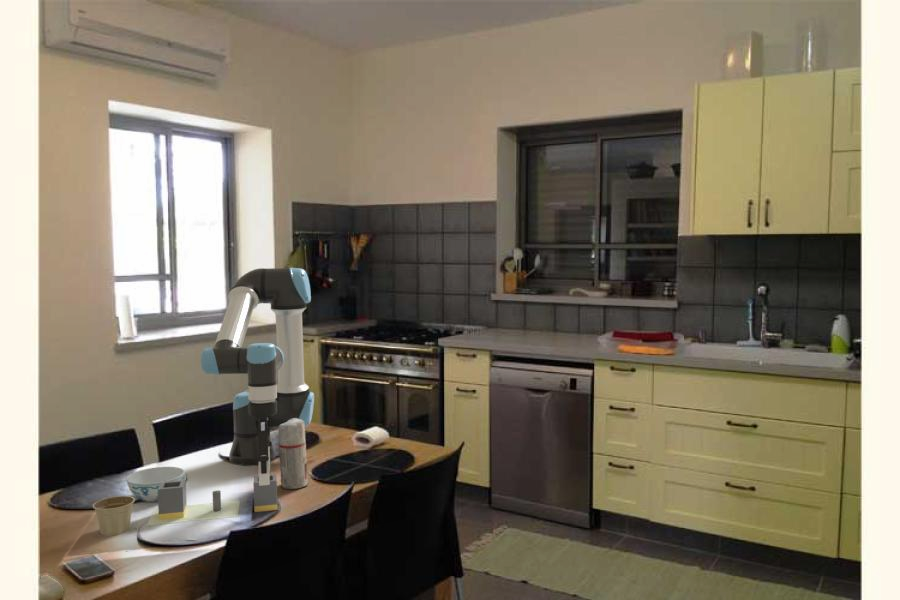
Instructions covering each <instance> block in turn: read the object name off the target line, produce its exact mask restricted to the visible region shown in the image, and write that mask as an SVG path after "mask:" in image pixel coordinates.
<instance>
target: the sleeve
mask: <svg viewBox="0 0 900 600" xmlns="http://www.w3.org/2000/svg"><path fill="white" fill-rule="evenodd" d="M269 477H270V485H262V486H259V475H254V476H253V510H254V513H258V512H259V513H260V512H270V511H277V510H278V485H277V484H278V483H277V482H278V481H277V479H278V478H277V474H276V473H275V474H274V473H273V474H269Z"/></svg>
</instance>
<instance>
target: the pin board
mask: <svg viewBox="0 0 900 600" xmlns="http://www.w3.org/2000/svg"><path fill="white" fill-rule="evenodd" d="M221 495H222V493H221V490H213V491H212V502H210V503H207V502H206V503H199V504H197V503H196V504H189V505H188V504H186V505H187V510H186V513H185V515H184V518H174V519H164V520H159V509H158V508H157V507H156V508H153V511H152V513H151V515H150V517H149V519H148V521H147V524H146V526H147V527H148V526H156V525H164V524H165V525H166V524H175V523H176V524H177V523H187V522H195V521H197V522H198V521H205V520H206V521H207V520H215V519H217V520H218V519H226V518H236V517H237V518H238V515H239V509H240V503H241V500H229V501H222V499H221Z"/></svg>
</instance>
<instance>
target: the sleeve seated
mask: <svg viewBox="0 0 900 600" xmlns="http://www.w3.org/2000/svg"><path fill="white" fill-rule="evenodd" d="M157 505H158V509H159V520H164V519H174V518H184V515H185V513H186V510H187V505H188V504H187V484H186V479H183V480H180V481H168V482H161V484H160V486H159V488H158V501H157Z"/></svg>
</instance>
